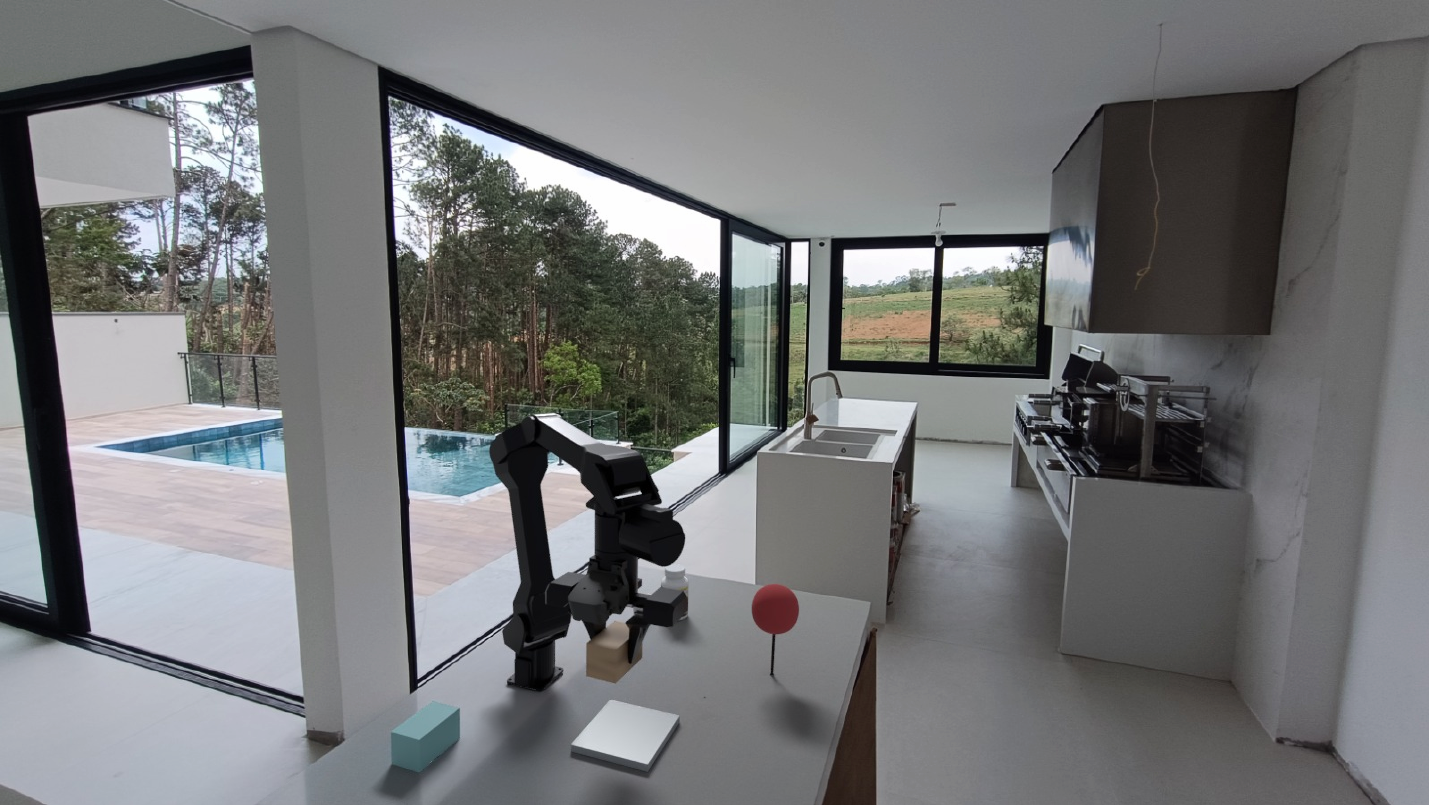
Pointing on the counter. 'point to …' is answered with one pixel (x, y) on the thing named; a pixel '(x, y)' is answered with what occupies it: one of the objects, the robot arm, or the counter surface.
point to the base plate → (626, 735)
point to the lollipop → (775, 611)
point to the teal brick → (425, 736)
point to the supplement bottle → (676, 580)
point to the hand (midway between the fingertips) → (615, 659)
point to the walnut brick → (610, 653)
